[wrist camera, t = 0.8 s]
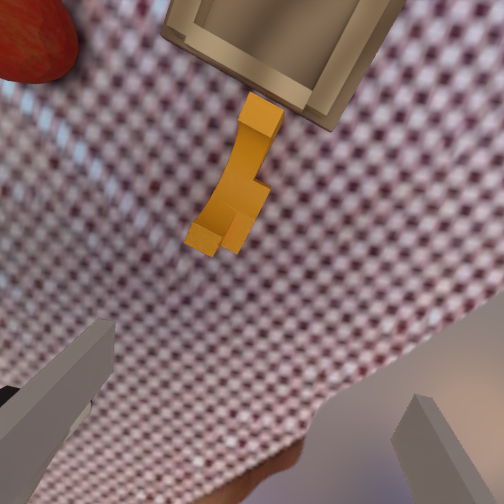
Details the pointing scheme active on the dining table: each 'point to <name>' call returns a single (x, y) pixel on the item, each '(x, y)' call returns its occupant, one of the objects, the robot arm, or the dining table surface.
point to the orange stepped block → (239, 182)
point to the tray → (287, 46)
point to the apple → (36, 41)
